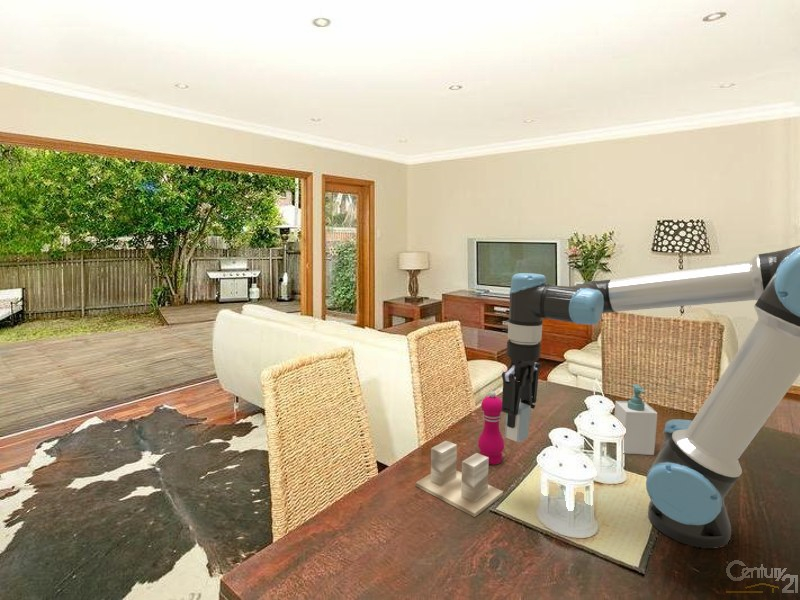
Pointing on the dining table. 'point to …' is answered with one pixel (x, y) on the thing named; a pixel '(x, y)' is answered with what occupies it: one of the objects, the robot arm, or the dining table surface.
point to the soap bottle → (637, 424)
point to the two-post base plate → (459, 480)
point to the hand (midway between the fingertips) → (517, 435)
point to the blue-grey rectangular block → (522, 421)
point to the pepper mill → (491, 429)
